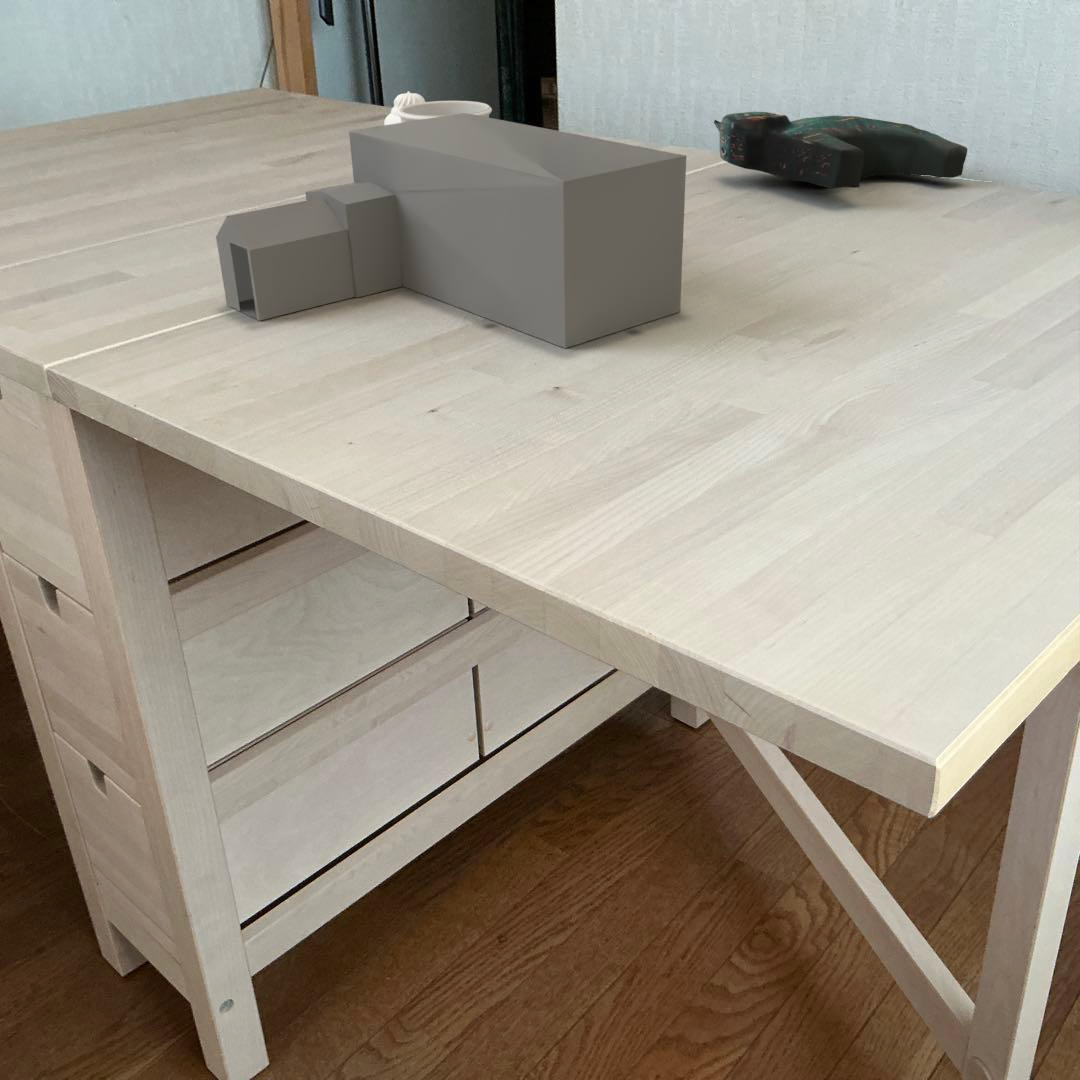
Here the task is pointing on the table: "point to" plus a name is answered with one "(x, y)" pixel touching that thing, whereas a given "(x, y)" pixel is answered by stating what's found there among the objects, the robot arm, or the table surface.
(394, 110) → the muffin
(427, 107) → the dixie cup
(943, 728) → the table surface
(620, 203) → the stepped duct adapter
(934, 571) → the table surface
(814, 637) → the table surface
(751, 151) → the ceramic cat
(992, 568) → the table surface
